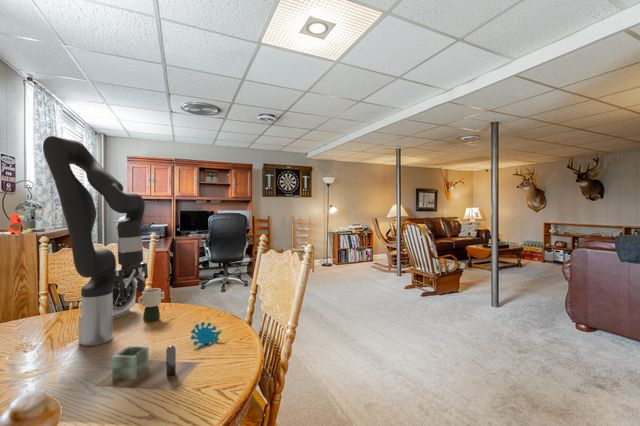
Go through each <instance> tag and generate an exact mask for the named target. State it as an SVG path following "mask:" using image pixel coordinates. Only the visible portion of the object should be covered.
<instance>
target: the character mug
mask: <svg viewBox="0 0 640 426" xmlns="http://www.w3.org/2000/svg"><path fill="white" fill-rule="evenodd" d="M164 299H165V291H162V289H161V288H158V287H157V288H156V287H153V288H146V289H144V291H143V292H141V296H139V297H137V304H138V305H139V306H141V305H142V306H143V307H144V312H143V320H142V321H146V322H154V321H157V320H160V318H161V316H160V315H161V314H160V309H159V306H160V305H161V302H162V300H164Z"/></svg>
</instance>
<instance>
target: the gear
mask: <svg viewBox="0 0 640 426" xmlns="http://www.w3.org/2000/svg"><path fill="white" fill-rule="evenodd" d="M205 324H206V326H205ZM200 326H201V328H200ZM204 326H205V327H204ZM211 326H212V323H211V322H207V323H206V322H204V321H202V322H201V323H200V324H198V323H197V324H196V325H194V328H192V330H191V331H190V333H191V334H192V335H191V336H190V340H191V341H193V340H194V341H193V342H192V343H193V345H194V347H195V346H197V345H198V344H200V345H199V346H198V348H199V349H203V348H204V346H205V345H206V347H209V346H210V343H211V344H212V345H216V344H217V342H218V341H219V340H220V337H219V335H221V334H222V331H223V330H222V329H221V330H220V329H219V330H218V331H216V330H217V326H216V325H214V326H213V327H211ZM209 327H210V328H209ZM196 330H197V331H196Z"/></svg>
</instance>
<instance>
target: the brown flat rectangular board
mask: <svg viewBox="0 0 640 426" xmlns="http://www.w3.org/2000/svg"><path fill="white" fill-rule="evenodd" d="M199 364H200V362H194V361H188V362H187V361H176V374H175V375H174V376H171V377H168V376H166V360H153V359H152V360H151V359H149V367H148V368H147V369H146V370H144V371H143V372H142V373H141V374H140V375H138V376H137V377H136V378H135V379H122V378H112V373H110V374H109V375H108V376H106V377H105V378H104V379H102V380H101V381H99V382H98V383H97V384H96V385H95V387H110V388H111V387H112V388H126V389H127V388H128V389H129V388H130V389H131V388H132V389H147V390H149V389H150V390H166V391H167V390H168V391H170V390H171V391H175V390H176V389H177V388H178V387H179V386H180V384H181V383H182V382H183V381H184V380H185V379H186V378H187V377H188V376H189V375H190V374H191V372H193V370H194V369H195V368H196V367H197V366H198V365H199Z"/></svg>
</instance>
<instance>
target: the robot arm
mask: <svg viewBox="0 0 640 426" xmlns="http://www.w3.org/2000/svg"><path fill="white" fill-rule="evenodd" d="M42 151H43V155H44V158H45V161H46V163H47V165H48V169H49V170H50V173H51V175H52V178H53V180H54V183H55V187H56V190H57V194H58V197H59V201H60V205H61V209H62V211H63V212H62V213H63V216H64V219H65V222H66V226H67V230H68V234H69V239H70V246H71V251H72V258H73V263H74V264H73V266H74V267H75V270H76V272H77V274H79V275H80V276H81V277H82V278H85V279H87V278H90V279H89V281H88V282H87V283H86V284H84V285H83V286H82V288H81V291H80V302H81V303H80V305H81V306H80V309H81V310H80V313H81V315H80V316H78V344H79V345H82V346H84V347H92V346H98V345H102V344H106V343H108V342H110V341H111V340H113V338H114V335H113V333H114V331H113V330H114V325H113V324H114V323H113V322H114V321H113V320H114V319H113V286H114V288H119V289H120V298H121V299H127V298H128V288H127V286H128V284H129V282H131V280H132V279H133V278H134V279H135V281H136V293H142V292H143V291H144V290H145V281H146V279H148V278H149V273H148V272H149V271H148V264H147V262H144V248H143V246H144V244H143V238H142V228H141V226H142V225H141V224H142V222H143V217H144V213H145V206H146V205H145V200H144V198H143V197H142V196H141V195H140V194H138V193H133V192H132V193H130V192H129V193H128V192H127V193H126V192H124V187H123V184H122V183H121V182H120V181H119V180H118V179H116V178H115V177H114V176H112V175H111V173H109V172H108V171H107V170H106V169H105V168H104V166H102V165H101V164H100V163H99V162H98V161H97V159H96V158H95V157H94V156H93V154H92V153H91V152H90V150H89V149H88V148H87V147H86V146H85V145H84V144H83V143H82V142H81V141H79V140H77V139H72V138H69V137H68V138H67V137H62V136H57V135H49V136H48V137H45V138H44V140H43V144H42ZM71 165H74V166H75V167H78V168H80V169H81V170H82V171H83V172H84V173H85V175H86V178H87V182H88V184H89V185H90V186H91V187H92V188H94V190H95V191H97V193H99V194H100V195H101V196H102V197H103V198H104V200H105V201H106V203H107V205H108V207H110V209H111V210H112V211H114V212H116V213H118V214H126V215H125V218H124V219H122V220H121V221H118V223H117V228H116V229H117V258H116V256H115V254H114V252H113V251H112V250H110V249H108V248H100V249H95V246H94V243H93V236H92V233H93V228H94V226H95V223H96V219H97V218H96V217H97V209H96V206H95V202H94V199H93V198H94V197H93V196H92V194H91V193H90V191H89V190H88V188H86V187H85V185H84V184H83V183H82V182H81V181H80V180H79V179H78V178H77V176H76V175H75V173H74V172H73V169H72V167H71ZM116 259H117V260H116ZM117 262H118V265H120V266H121V268H120V269H117ZM124 277H125V278H126V279H124ZM118 281H120V283H119V284H118ZM124 282H125V284H123V283H124Z"/></svg>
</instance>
